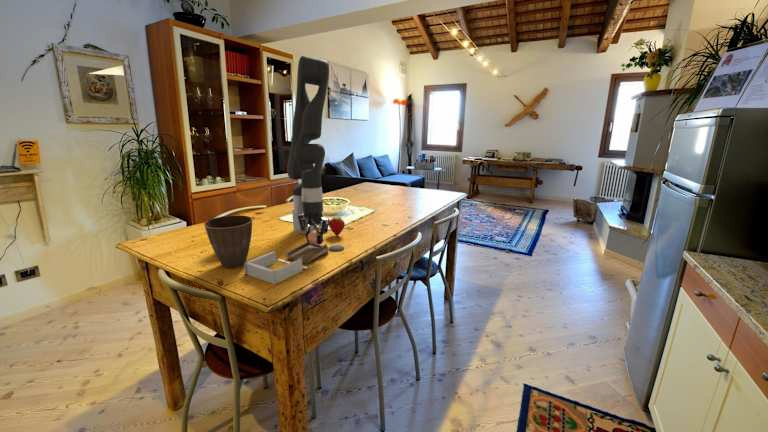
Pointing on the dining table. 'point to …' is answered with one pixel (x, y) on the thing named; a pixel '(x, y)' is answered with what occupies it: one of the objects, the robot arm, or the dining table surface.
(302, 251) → the walnut ramp
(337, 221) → the strawberry
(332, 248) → the coaster
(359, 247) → the dining table surface
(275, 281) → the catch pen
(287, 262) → the painted line
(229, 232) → the plant pot
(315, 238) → the rubber ball
